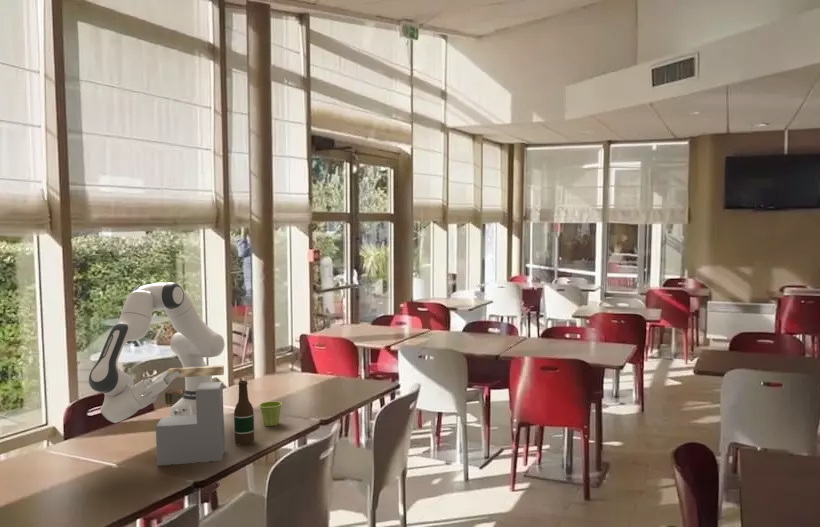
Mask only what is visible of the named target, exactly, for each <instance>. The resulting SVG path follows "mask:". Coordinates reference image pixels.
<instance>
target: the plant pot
mask: <svg viewBox="0 0 820 527" xmlns="http://www.w3.org/2000/svg"><path fill="white" fill-rule="evenodd" d="M282 406H283V403H282V402H280V401H274V400H271V401H266V402H265V401H264V402H262V403H259V405H258V407H259V408H260V410H261V415H262V420H263V425H264V426H265V427H272V426H274V425H275V426H278V425H279V424H280V412H281V407H282ZM277 424H278V425H277Z"/></svg>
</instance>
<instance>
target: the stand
mask: <svg viewBox="0 0 820 527" xmlns="http://www.w3.org/2000/svg"><path fill="white" fill-rule="evenodd" d="M223 389H224V386H223V381H212V382H208V383H200V384H199V386H198V388H197V389H196V410H197V415H190V416H175V417H169V416H162V417H161V418H160V420H158V422H157V424H156V426H155V440H156V442H155V443H156V465H157V466H169V465H172V464H173V465H183V464H184V465H185V464H186V465H187V464H196V463H197V462H200V463H210V462H209V461H213V462H222V461H223V457H224V455H223V454H225V451H226V448H225V447H226V445H225V444H226V443H225V441H226V440H225V421H224V420H225V419H224V418H225V416H224V415H225V414H224V413H225V412H224V392H223V391H224V390H223Z"/></svg>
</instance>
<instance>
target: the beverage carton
mask: <svg viewBox="0 0 820 527" xmlns="http://www.w3.org/2000/svg"><path fill="white" fill-rule="evenodd" d="M184 389H185V388H170V389H169V390H167V391H166V392H165V393H164V395H165V396H164V398H165V400H164V401H165V405H169V406H173V405H174V404H175V403H177V402H178V401H179V400H180V399H181V398H182V396H183V393H182V392H180V391H183V390H184ZM180 393H182V394H180Z"/></svg>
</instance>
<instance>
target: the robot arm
mask: <svg viewBox="0 0 820 527" xmlns="http://www.w3.org/2000/svg"><path fill="white" fill-rule="evenodd" d="M159 311H164V312H165V315H166V316H167V318H168V319H169V323H170V324H171V325H172V327H173V330H175V333H174V334H173V335H172V336H171V338H170V342H169V343H170V344H169V345H170V349H171V350H172V352H173V353H174V354H175V355H176V357H177V358H178V359H179V361H180V363H181V365H182V368H184V367H204V366H209V365H208V364H206V362H205V361H204V358H206V359H207V358H209V359H210V358H214V357H218V356H221V354H222V353H223V351H224V349H225V345H226V344H225V340H224V337H223V336H222V335H221V334H219V333H217V332H216V331H214V330H213V329H211V328H210V327H209V326H208V324H206V323H205V321H203V320H202V318H201V317H200V315H199V314H198V312H197V310H196V308H195V306H194V304H193V303H192V301H191V299H190V297H189V295H188V294H187V292H186V291H185V290H184V288H183V287H182V286H181V285H180V284H179V283H176V282H172V281H171V282H154V283H148V284H141V285H140V284H139V285H137V286H135V287H134V288H132V290H131V291H130V293H129V294H128V296H127V298H126V300H125V302H124V304H123V307H122V310H121V312H120V316H119V319H118V321H117V323H116V324H115V325H114V326H113V327H112V328H111V330H110V331H109V334H108V337H107V338H106V341H105V343H104V344H103V347H102V351H101V353H100V355H99V357H98V359H97V361H96V363H95V365H94V366H93V367H92V369H91V371H90V373H89V375H88V384H89V386H90V388H91V389H92V390H94V391H96V392H99V393H101V394H104V400H103V403H102V405H101V407H100V410H99V411H100V414H101V415H102V417H104V419H106V420H107V421H108V422H111V423H113V424H117V423H119V422H122V421H124V420H127V419H128V418H129V417H131V416H134V415H135V414H136V413H137V412H138V411H139V410H142V409H144V408H146V407H147V406H150V405H151V404H152V403H154V402H156V401H157V399H158V396H159V395H160V393H162V392H164V391H165V390H166V389H168V387H169V385H170V384H171V382H172V381H174V380H175V379H176V377H177V378H179V377H178V376H179V375H180V372H179V371H176V372H174V373H173V374H171V375H169V374H168V369H167V370H164V371H163V372H161V373H159V374H157V375H155V376H152V377H148V378H146V379H141V380H140V381H139V382H137V383H135V381H134V379H133V377H132V376H131V375H130V374H128V373H126V372H125V371H123V370H121V369H120V368H119V367H118V361H119V358H120V356H121V353H122V351H123V348H124V347H125V344H126V343H127V342H136V341H139V340H142V339H143V338H144V337H145V336H147V334H148V332H149V329H150V326H151V322H152V318H153V313H154V312H159ZM184 382H185V383H184V384H185V388H183V389H184V390H183V391H180V392H182V393H183V396H182V398H181V399H180V400H179V401H178V402H177V403H175V404H174V405H171V407H170V411H169V416H168V417H175V416H190V415H197V410H196V389H197V388H198V386H199V384H200V383H208V382H213V376H196V377H184ZM182 393H180V394H182Z"/></svg>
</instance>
